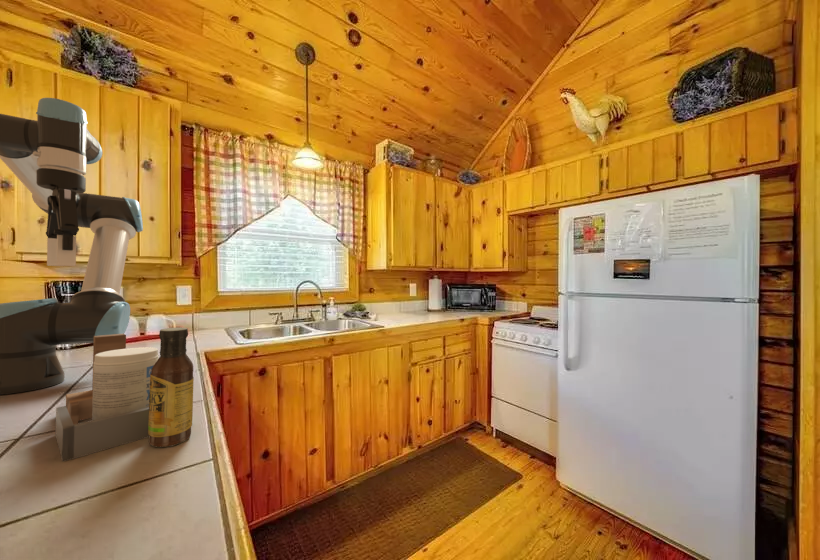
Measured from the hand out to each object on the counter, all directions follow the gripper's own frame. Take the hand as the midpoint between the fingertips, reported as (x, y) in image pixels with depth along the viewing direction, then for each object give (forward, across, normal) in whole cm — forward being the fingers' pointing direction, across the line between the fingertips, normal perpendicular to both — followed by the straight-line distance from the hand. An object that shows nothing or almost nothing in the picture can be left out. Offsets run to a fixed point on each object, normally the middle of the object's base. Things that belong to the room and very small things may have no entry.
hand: (60, 266), depth 72 cm
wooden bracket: (+31, +13, +6) cm, 35 cm away
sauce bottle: (+31, +40, +9) cm, 51 cm away
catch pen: (+31, +28, +5) cm, 42 cm away
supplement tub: (+31, +27, +6) cm, 42 cm away
